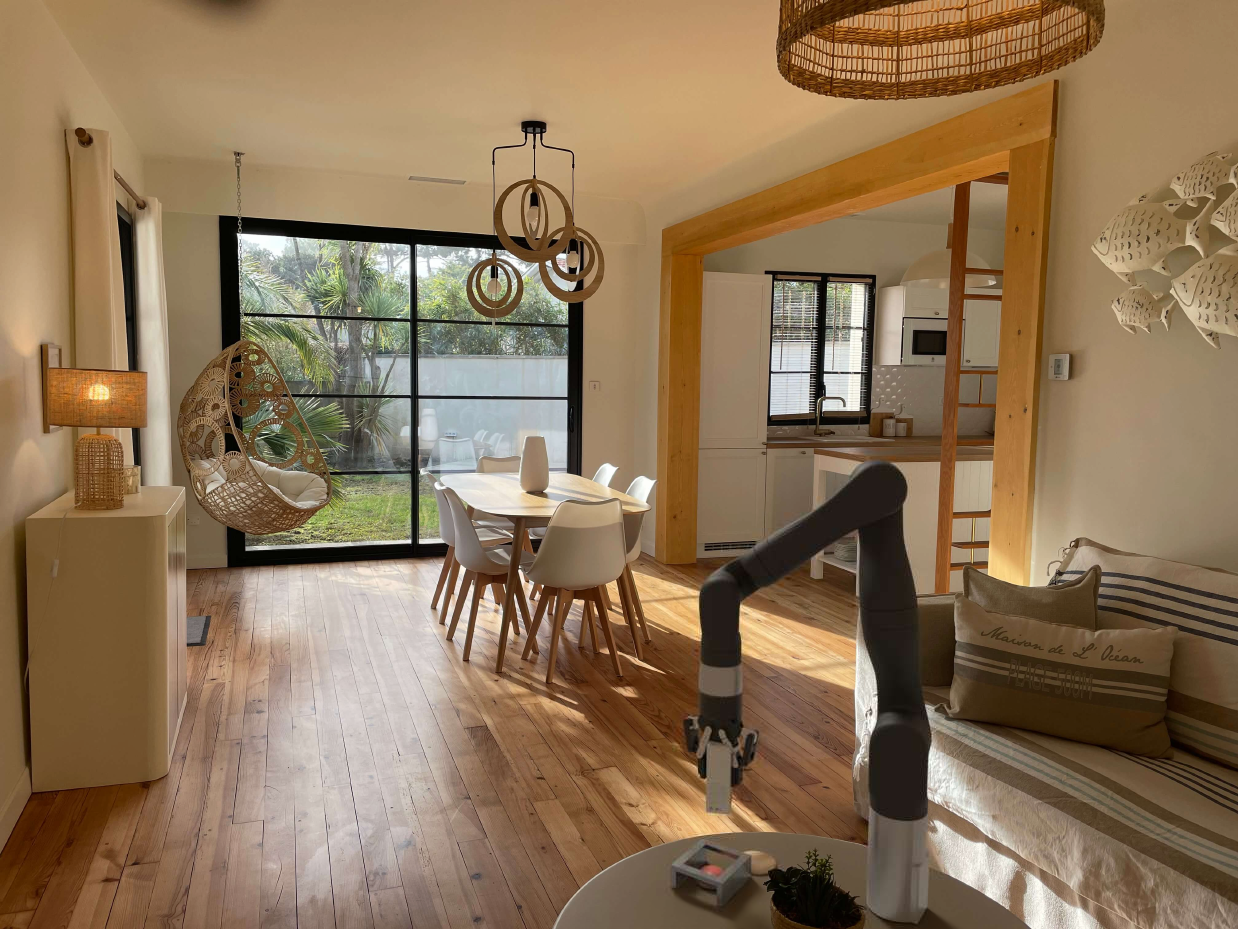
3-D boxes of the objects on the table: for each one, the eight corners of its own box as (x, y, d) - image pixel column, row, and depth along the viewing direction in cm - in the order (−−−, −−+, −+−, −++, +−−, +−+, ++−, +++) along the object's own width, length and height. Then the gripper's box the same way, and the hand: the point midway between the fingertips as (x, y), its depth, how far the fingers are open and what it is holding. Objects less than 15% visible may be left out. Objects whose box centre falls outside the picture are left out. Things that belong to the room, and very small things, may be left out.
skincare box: (730, 815, 150) (731, 747, 149) (705, 813, 150) (706, 745, 149) (733, 799, 156) (733, 734, 155) (709, 797, 156) (709, 732, 155)
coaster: (781, 861, 160) (781, 858, 160) (765, 879, 155) (765, 876, 155) (747, 850, 164) (747, 847, 164) (730, 866, 159) (730, 863, 159)
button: (733, 878, 154) (733, 870, 154) (717, 893, 150) (718, 885, 150) (705, 868, 158) (705, 860, 157) (689, 882, 153) (689, 874, 153)
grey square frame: (751, 876, 155) (751, 855, 155) (721, 906, 146) (722, 883, 146) (701, 859, 161) (702, 838, 161) (670, 887, 152) (671, 864, 152)
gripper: (768, 689, 150) (766, 784, 152) (694, 674, 158) (694, 764, 160) (749, 701, 144) (747, 800, 145) (673, 685, 152) (673, 779, 154)
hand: (719, 781), depth 153 cm, fingers closed on skincare box, 5 cm apart
